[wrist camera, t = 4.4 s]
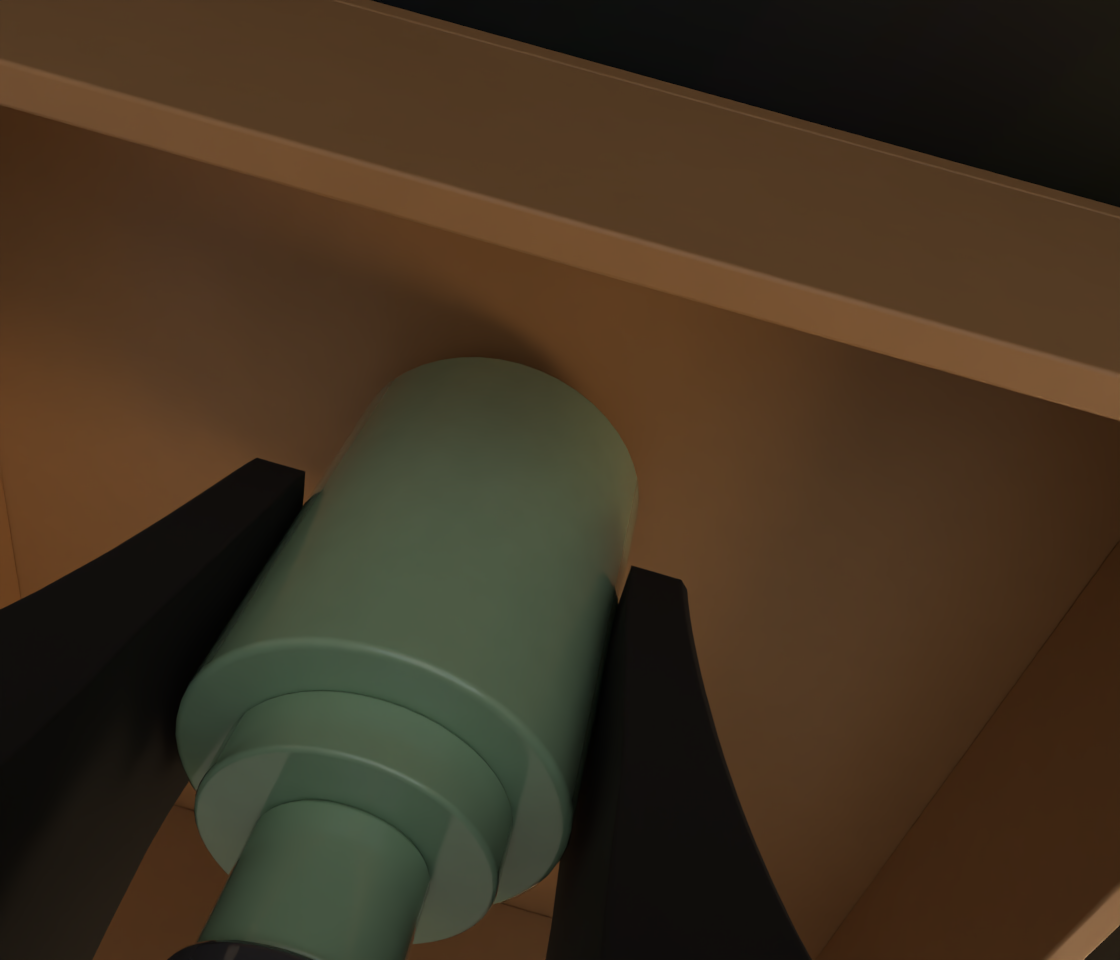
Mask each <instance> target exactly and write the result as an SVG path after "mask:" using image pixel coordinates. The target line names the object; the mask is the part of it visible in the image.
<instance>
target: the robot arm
mask: <svg viewBox="0 0 1120 960" xmlns="http://www.w3.org/2000/svg"><path fill="white" fill-rule="evenodd" d="M305 472H306V471H302V470H299V469H295V468H292V467H288V466H285V465H281V464H278V463H274V462H271V461H267V460H264V459H260V458H255V459H253V460H251V461H250V462H248V463H246V464H245V465H243V466H241V467H240V468H238V469H237V470H235V471H234V472H232V473H231V474H229V475H228V476H226V477H225V478H223V479H222V480H220V481H219V482H217V483H216V484H214V485H213V486H211V487H210V488H208V489H207V490H205V491H204V492H202V493H201V494H199V495H198V496H196V497H195V498H193V499H192V500H190V501H188V502H187V503H185V504H184V505H182V506H181V507H179V508H178V509H176V510H175V511H173V512H172V513H170V514H168V515H167V516H165V517H164V518H162V519H161V520H159V521H157V522H156V523H154V524H152V525H151V526H149V527H148V528H146V529H144V530H143V531H141V532H139V533H138V534H136V535H134V536H133V537H131V538H130V539H128V540H126V541H125V542H123V543H121V544H120V545H118V546H117V547H115V548H113V549H112V550H110V551H108V552H107V553H105V554H103V555H101V556H100V557H98V558H96V559H94V560H92V561H91V562H89V563H87V564H85V565H83V566H82V567H80V568H78V569H76V570H74V571H72V572H71V573H69V574H67V575H65V576H63V577H62V578H60V579H58V580H56V581H54V582H53V583H51V584H49V585H47V586H45V587H43V588H42V589H40V590H38V591H36V592H34V593H32V594H30V595H28V596H26V597H24V598H22V599H20V600H18V601H16V602H14V603H12V604H10V605H8V606H6V607H4V608H2V609H0V960H93V957H94V955H95V953H96V951H97V949H98V947H99V945H100V943H101V941H102V939H103V937H104V935H105V933H106V931H107V929H108V927H109V925H110V923H111V921H112V919H113V917H114V915H115V913H116V911H117V909H118V907H119V905H120V903H121V901H122V899H123V897H124V895H125V893H126V891H127V889H128V887H129V885H130V883H131V881H132V879H133V877H134V875H135V873H136V871H137V869H138V867H139V865H140V863H141V861H142V859H143V857H144V855H145V853H146V852H147V850H148V848H149V846H150V844H151V843H152V841H153V839H154V837H155V836H156V834H157V832H158V830H159V829H160V827H161V825H162V824H163V822H164V820H165V818H166V817H167V815H168V813H169V812H170V810H171V809H172V807H173V805H174V804H175V802H176V801H177V799H178V798H179V796H180V794H181V793H182V791H183V790H184V788H185V787H186V785H187V784H188V782H189V780H188V778H187V776H186V774H185V771H184V769H183V767H182V764H181V761H180V757H179V754H178V751H177V743H176V735H175V732H176V718H177V710H178V707H179V704H180V700H181V697H182V695H183V693H184V691H185V689H186V687H187V686H188V684H189V682H190V680H191V679H192V677H193V676H194V674H195V673H196V671H197V670H198V668H199V667H200V665H201V663H202V662H203V660H204V659H205V657H206V656H207V654H208V653H209V651H210V649H211V648H212V646H213V645H214V643H215V642H216V640H217V639H218V637H219V635H220V634H221V632H222V631H223V629H224V628H225V626H226V625H227V623H228V622H229V620H230V618H231V617H232V615H233V614H234V612H235V611H236V609H237V608H238V606H239V604H240V603H241V601H242V600H243V598H244V597H245V595H246V594H247V592H248V590H249V589H250V587H251V586H252V584H253V583H254V581H255V580H256V578H257V576H258V575H259V573H260V572H261V570H262V569H263V567H264V566H265V564H266V563H267V561H268V559H269V558H270V556H271V555H272V553H273V552H274V550H275V549H276V547H277V545H278V544H279V542H280V541H281V539H282V538H283V536H284V535H285V533H286V531H287V530H288V528H289V527H290V525H291V524H292V522H293V521H294V519H295V517H296V516H297V514H298V513H299V511H300V510H301V508H302V507H303V499H304V486H305ZM545 960H812V959H811V957H810V955H809V953H808V952H807V950H806V948H805V946H804V944H803V942H802V941H801V939H800V937H799V935H798V933H797V931H796V929H795V927H794V925H793V923H792V921H791V919H790V917H789V915H788V913H787V911H786V908H785V906H784V904H783V902H782V900H781V898H780V896H779V894H778V892H777V890H776V887H775V885H774V883H773V881H772V879H771V876H770V874H769V872H768V870H767V867H766V865H765V863H764V860H763V858H762V856H761V853H760V851H759V849H758V847H757V844H756V842H755V839H754V837H753V834H752V832H751V829H750V827H749V824H748V822H747V819H746V816H745V814H744V811H743V809H742V806H741V803H740V801H739V798H738V795H737V792H736V789H735V786H734V783H733V781H732V778H731V775H730V772H729V769H728V766H727V763H726V760H725V757H724V754H723V751H722V747H721V744H720V741H719V738H718V734H717V731H716V727H715V723H714V720H713V716H712V713H711V709H710V706H709V702H708V698H707V695H706V691H705V687H704V683H703V679H702V675H701V670H700V666H699V661H698V656H697V652H696V647H695V642H694V636H693V631H692V625H691V618H690V611H689V603H688V592H687V588H686V587H685V585H684V583H683V582H682V580H681V579H677V578H674V577H670V576H667V575H663V574H660V573H656V572H653V571H649V570H646V569H643V568H639V567H636V566H632V565H631V568H630V571H629V574H628V577H627V580H626V583H625V586H624V589H623V591H622V594H621V597H620V600H619V603H618V608H617V613H616V617H615V622H614V627H613V632H612V637H611V641H610V646H609V651H608V656H607V661H606V666H605V672H604V678H603V684H602V690H601V695H600V700H599V704H598V709H597V714H596V719H595V724H594V729H593V733H592V738H591V743H590V748H589V753H588V758H587V762H586V767H585V772H584V777H583V782H582V787H581V791H580V796H579V801H578V806H577V811H576V816H575V820H574V825H573V830H572V834H571V838H570V842H569V845H568V847H567V849H566V851H565V853H564V855H563V857H562V859H561V860H560V863H559V870H558V878H557V885H556V893H555V901H554V908H553V916H552V923H551V930H550V936H549V942H548V947H547V953H546V959H545Z"/></svg>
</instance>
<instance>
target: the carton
mask: <svg viewBox="0 0 1120 960" xmlns="http://www.w3.org/2000/svg"><path fill="white" fill-rule="evenodd" d="M457 357H488V358H498V359H504V360H508V361H513V362H517V363H521V364H524V365H527V366H530V367H533V368H536V369H539V370H541V371H543V372H545V373H547V374H550V375H552V376H554V377H556V378H558V379H560V380H561V381H563V382H565V383H566V384H568V385H569V386H571V387H573V388H574V389H576V390H577V391H578V392H580V393H581V394H582V395H583V396H585V397H586V398H587V399H588V400H590V401H591V402H592V403H593V404H594V405H595V406H596V407H597V408H598V409H599V410H600V411H601V412H602V413H603V414H604V415H605V416H606V417H607V419H608V420H609V421H610V423H611V424H612V425H613V426H614V428H615V429H616V430H617V432H618V434H619V435H620V437H621V439H622V441H623V442H624V444H625V446H626V447H627V449H628V452H629V454H630V457H631V459H632V462H633V464H634V468H635V472H636V476H637V480H638V488H639V508H638V516H637V521H636V526H635V531H634V535H633V540H632V545H631V550H630V555H629V559H628V564H627V569H626V574H625V579H624V584H623V588H622V591H623V589H624V586H625V583H626V580H627V577H628V574H629V571H630V568H631V565H632V566H636V567H639V568H643V569H646V570H649V571H653V572H656V573H660V574H663V575H667V576H670V577H674V578H677V579H681V580H682V582H683V583H684V585H685V587H686V588H687V592H688V603H689V611H690V618H691V625H692V631H693V636H694V642H695V647H696V652H697V656H698V661H699V666H700V670H701V675H702V679H703V683H704V687H705V691H706V695H707V698H708V702H709V706H710V709H711V713H712V716H713V720H714V723H715V727H716V731H717V734H718V738H719V741H720V744H721V747H722V751H723V754H724V757H725V760H726V763H727V766H728V769H729V772H730V775H731V778H732V781H733V783H734V786H735V789H736V792H737V795H738V798H739V801H740V803H741V806H742V809H743V811H744V814H745V816H746V819H747V822H748V824H749V827H750V829H751V832H752V834H753V837H754V839H755V842H756V844H757V847H758V849H759V851H760V853H761V856H762V858H763V860H764V863H765V865H766V867H767V870H768V872H769V874H770V876H771V879H772V881H773V883H774V885H775V887H776V890H777V892H778V894H779V896H780V898H781V900H782V902H783V904H784V906H785V908H786V911H787V913H788V915H789V917H790V919H791V921H792V923H793V925H794V927H795V929H796V931H797V933H798V935H799V937H800V939H801V941H802V942H803V944H804V946H805V948H806V950H807V952H808V953H809V955H810V957H811V959H812V960H1084V959H1085V958H1086V957H1087V956H1088V955H1089V954H1090V953H1091V952H1092V951H1093V950H1094V949H1095V948H1096V947H1097V946H1098V945H1099V944H1100V943H1102V942H1103V941H1104V940H1105V939H1106V938H1107V937H1108V936H1109V935H1110V934H1111V933H1112V932H1113V931H1114V930H1115V929H1116V928H1117V927H1118V926H1119V925H1120V208H1119V207H1116V206H1112V205H1109V204H1105V203H1101V202H1098V201H1094V200H1091V199H1087V198H1083V197H1080V196H1076V195H1072V194H1069V193H1065V192H1062V191H1058V190H1054V189H1051V188H1047V187H1044V186H1040V185H1036V184H1033V183H1029V182H1025V181H1022V180H1018V179H1015V178H1011V177H1007V176H1004V175H1000V174H997V173H993V172H989V171H986V170H982V169H978V168H975V167H971V166H968V165H964V164H960V163H957V162H953V161H950V160H946V159H942V158H939V157H935V156H932V155H928V154H924V153H921V152H917V151H913V150H910V149H906V148H903V147H899V146H895V145H892V144H888V143H885V142H881V141H877V140H874V139H870V138H866V137H863V136H859V135H856V134H852V133H848V132H845V131H841V130H838V129H834V128H830V127H827V126H823V125H819V124H816V123H812V122H809V121H805V120H801V119H798V118H794V117H791V116H787V115H783V114H780V113H776V112H773V111H769V110H765V109H762V108H758V107H754V106H751V105H747V104H744V103H740V102H736V101H733V100H729V99H726V98H722V97H718V96H715V95H711V94H707V93H704V92H700V91H697V90H693V89H689V88H686V87H682V86H679V85H675V84H671V83H668V82H664V81H661V80H657V79H653V78H650V77H646V76H642V75H639V74H635V73H632V72H628V71H624V70H621V69H617V68H614V67H610V66H606V65H603V64H599V63H595V62H592V61H588V60H585V59H581V58H577V57H574V56H570V55H567V54H563V53H559V52H556V51H552V50H548V49H545V48H541V47H538V46H534V45H530V44H527V43H523V42H520V41H516V40H512V39H509V38H505V37H502V36H498V35H494V34H491V33H487V32H483V31H480V30H476V29H473V28H469V27H465V26H462V25H458V24H455V23H451V22H447V21H444V20H440V19H436V18H433V17H429V16H426V15H422V14H418V13H415V12H411V11H408V10H404V9H400V8H397V7H393V6H389V5H386V4H382V3H379V2H375V1H371V0H0V609H2V608H4V607H6V606H8V605H10V604H12V603H14V602H16V601H18V600H20V599H22V598H24V597H26V596H28V595H30V594H32V593H34V592H36V591H38V590H40V589H42V588H43V587H45V586H47V585H49V584H51V583H53V582H54V581H56V580H58V579H60V578H62V577H63V576H65V575H67V574H69V573H71V572H72V571H74V570H76V569H78V568H80V567H82V566H83V565H85V564H87V563H89V562H91V561H92V560H94V559H96V558H98V557H100V556H101V555H103V554H105V553H107V552H108V551H110V550H112V549H113V548H115V547H117V546H118V545H120V544H121V543H123V542H125V541H126V540H128V539H130V538H131V537H133V536H134V535H136V534H138V533H139V532H141V531H143V530H144V529H146V528H148V527H149V526H151V525H152V524H154V523H156V522H157V521H159V520H161V519H162V518H164V517H165V516H167V515H168V514H170V513H172V512H173V511H175V510H176V509H178V508H179V507H181V506H182V505H184V504H185V503H187V502H188V501H190V500H192V499H193V498H195V497H196V496H198V495H199V494H201V493H202V492H204V491H205V490H207V489H208V488H210V487H211V486H213V485H214V484H216V483H217V482H219V481H220V480H222V479H223V478H225V477H226V476H228V475H229V474H231V473H232V472H234V471H235V470H237V469H238V468H240V467H241V466H243V465H245V464H246V463H248V462H250V461H251V460H253V459H255V458H260V459H264V460H267V461H271V462H274V463H278V464H281V465H285V466H288V467H292V468H295V469H299V470H302V471H306V472H305V486H304V499H303V505H304V504H305V502H306V500H307V499H308V497H309V496H310V494H311V493H312V491H313V490H314V488H315V486H316V485H317V483H318V482H319V480H320V479H321V477H322V476H323V474H324V472H325V471H326V469H327V468H328V466H329V465H330V463H331V462H332V460H333V458H334V457H335V455H336V454H337V452H338V451H339V449H340V448H341V446H342V445H343V443H344V441H345V440H346V438H347V437H348V435H349V434H350V432H351V431H352V429H353V427H354V426H355V424H356V423H357V421H358V420H359V418H360V417H361V415H362V413H363V412H364V410H365V409H366V407H367V406H368V404H369V403H370V402H371V401H372V399H373V398H374V397H375V396H376V395H377V393H378V392H379V391H380V390H382V389H383V388H384V387H385V386H386V385H387V384H388V383H390V382H391V381H392V380H394V379H395V378H397V377H399V376H400V375H402V374H404V373H405V372H407V371H410V370H412V369H414V368H416V367H419V366H421V365H424V364H428V363H431V362H435V361H439V360H442V359H450V358H457ZM621 594H622V593H621ZM195 794H196V792H195V790H194V789H193V787H192V786H191V784H190V782H188V784H187V785H186V787H185V788H184V790H183V791H182V793H181V794H180V796H179V798H178V799H177V801H176V802H175V804H174V805H173V807H172V809H171V810H170V812H169V813H168V815H167V817H166V818H165V820H164V822H163V824H162V825H161V827H160V829H159V830H158V832H157V834H156V836H155V837H154V839H153V841H152V843H151V844H150V846H149V848H148V850H147V852H146V853H145V855H144V857H143V859H142V861H141V863H140V865H139V867H138V869H137V871H136V873H135V875H134V877H133V879H132V881H131V883H130V885H129V887H128V889H127V891H126V893H125V895H124V897H123V899H122V901H121V903H120V905H119V907H118V909H117V911H116V913H115V915H114V917H113V919H112V921H111V923H110V925H109V927H108V929H107V931H106V933H105V935H104V937H103V939H102V941H101V943H100V945H99V947H98V949H97V951H96V953H95V955H94V957H93V960H167V959H168V958H169V957H171V956H172V955H173V954H174V953H175V952H177V951H178V950H179V949H181V948H183V947H185V946H187V945H190V944H194V943H195V941H196V939H197V937H198V935H199V933H200V931H201V929H202V927H203V925H204V923H205V921H206V919H207V917H208V915H209V913H210V911H211V909H212V907H213V905H214V903H215V901H216V899H217V897H218V895H219V893H220V891H221V889H222V887H223V885H224V883H225V881H226V879H227V877H228V875H227V874H226V873H225V872H224V871H223V869H222V868H221V867H220V866H219V865H218V864H217V862H216V861H215V860H214V859H213V857H212V856H211V854H210V853H209V851H208V850H207V849H206V847H205V845H204V843H203V841H202V839H201V837H200V835H199V832H198V829H197V826H196V822H195V814H194V804H195ZM559 863H560V861H559V862H558V864H557V865H556V866H555V867H554V869H553V870H552V871H551V872H550V874H549V875H548V876H547V877H546V878H544V879H543V880H542V881H541V882H540V883H539V884H537V885H536V886H535V887H533V888H532V889H530V890H528V891H526V892H525V893H523V894H521V895H520V896H517V897H515V898H512V899H510V900H507V901H505V902H502V903H499V904H495V905H492V907H491V908H490V910H489V911H488V912H487V913H486V915H485V916H484V917H483V918H482V919H481V920H480V921H479V922H478V923H477V924H476V925H474V926H473V927H472V928H470V929H468V930H467V931H465V932H463V933H461V934H459V935H456V936H454V937H451V938H448V939H444V940H441V941H437V942H431V943H424V944H412V947H411V950H410V953H409V956H408V959H407V960H545V959H546V953H547V947H548V942H549V936H550V930H551V923H552V916H553V908H554V901H555V893H556V885H557V878H558V870H559Z"/></svg>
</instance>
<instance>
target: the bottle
mask: <svg viewBox="0 0 1120 960" xmlns="http://www.w3.org/2000/svg"><path fill="white" fill-rule="evenodd" d="M638 508H639V488H638V480H637V476H636V472H635V468H634V464H633V462H632V459H631V457H630V454H629V452H628V449H627V447H626V446H625V444H624V442H623V441H622V439H621V437H620V435H619V434H618V432H617V430H616V429H615V428H614V426H613V425H612V424H611V423H610V421H609V420H608V419H607V417H606V416H605V415H604V414H603V413H602V412H601V411H600V410H599V409H598V408H597V407H596V406H595V405H594V404H593V403H592V402H591V401H590V400H588V399H587V398H586V397H585V396H583V395H582V394H581V393H580V392H578V391H577V390H576V389H574V388H573V387H571V386H569V385H568V384H566V383H565V382H563V381H561V380H560V379H558V378H556V377H554V376H552V375H550V374H547V373H545V372H543V371H541V370H539V369H536V368H533V367H530V366H527V365H524V364H521V363H517V362H513V361H508V360H504V359H498V358H488V357H457V358H450V359H442V360H439V361H435V362H431V363H428V364H424V365H421V366H419V367H416V368H414V369H412V370H410V371H407V372H405V373H404V374H402V375H400V376H399V377H397V378H395V379H394V380H392V381H391V382H390V383H388V384H387V385H386V386H385V387H384V388H383V389H382V390H380V391H379V392H378V393H377V395H376V396H375V397H374V398H373V399H372V401H371V402H370V403H369V404H368V406H367V407H366V409H365V410H364V412H363V413H362V415H361V417H360V418H359V420H358V421H357V423H356V424H355V426H354V427H353V429H352V431H351V432H350V434H349V435H348V437H347V438H346V440H345V441H344V443H343V445H342V446H341V448H340V449H339V451H338V452H337V454H336V455H335V457H334V458H333V460H332V462H331V463H330V465H329V466H328V468H327V469H326V471H325V472H324V474H323V476H322V477H321V479H320V480H319V482H318V483H317V485H316V486H315V488H314V490H313V491H312V493H311V494H310V496H309V497H308V499H307V500H306V502H305V504H304V505H303V507H302V508H301V510H300V511H299V513H298V514H297V516H296V517H295V519H294V521H293V522H292V524H291V525H290V527H289V528H288V530H287V531H286V533H285V535H284V536H283V538H282V539H281V541H280V542H279V544H278V545H277V547H276V549H275V550H274V552H273V553H272V555H271V556H270V558H269V559H268V561H267V563H266V564H265V566H264V567H263V569H262V570H261V572H260V573H259V575H258V576H257V578H256V580H255V581H254V583H253V584H252V586H251V587H250V589H249V590H248V592H247V594H246V595H245V597H244V598H243V600H242V601H241V603H240V604H239V606H238V608H237V609H236V611H235V612H234V614H233V615H232V617H231V618H230V620H229V622H228V623H227V625H226V626H225V628H224V629H223V631H222V632H221V634H220V635H219V637H218V639H217V640H216V642H215V643H214V645H213V646H212V648H211V649H210V651H209V653H208V654H207V656H206V657H205V659H204V660H203V662H202V663H201V665H200V667H199V668H198V670H197V671H196V673H195V674H194V676H193V677H192V679H191V680H190V682H189V684H188V686H187V687H186V689H185V691H184V693H183V695H182V697H181V700H180V704H179V707H178V710H177V718H176V732H175V735H176V743H177V751H178V754H179V757H180V761H181V764H182V767H183V769H184V771H185V774H186V776H187V778H188V780H189V782H190V784H191V786H192V787H193V789H194V790H195V792H196V794H195V804H194V814H195V822H196V826H197V829H198V832H199V835H200V837H201V839H202V841H203V843H204V845H205V847H206V849H207V850H208V851H209V853H210V854H211V856H212V857H213V859H214V860H215V861H216V862H217V864H218V865H219V866H220V867H221V868H222V869H223V871H224V872H225V873H226V874H227V875H228V877H227V879H226V881H225V883H224V885H223V887H222V889H221V891H220V893H219V895H218V897H217V899H216V901H215V903H214V905H213V907H212V909H211V911H210V913H209V915H208V917H207V919H206V921H205V923H204V925H203V927H202V929H201V931H200V933H199V935H198V937H197V939H196V941H195V943H194V944H190V945H187V946H185V947H183V948H181V949H179V950H178V951H177V952H175V953H174V954H173V955H172V956H171V957H169V958H168V959H167V960H407V959H408V956H409V953H410V950H411V947H412V944H424V943H431V942H437V941H441V940H444V939H448V938H451V937H454V936H456V935H459V934H461V933H463V932H465V931H467V930H468V929H470V928H472V927H473V926H474V925H476V924H477V923H478V922H479V921H480V920H481V919H482V918H483V917H484V916H485V915H486V913H487V912H488V911H489V910H490V908H491V907H492V905H495V904H499V903H502V902H505V901H507V900H510V899H512V898H515V897H517V896H520V895H521V894H523V893H525V892H526V891H528V890H530V889H532V888H533V887H535V886H536V885H537V884H539V883H540V882H541V881H542V880H543V879H544V878H546V877H547V876H548V875H549V874H550V872H551V871H552V870H553V869H554V867H555V866H556V865H557V864H558V862H559V861H560V860H561V859H562V857H563V855H564V853H565V851H566V849H567V847H568V845H569V842H570V838H571V834H572V830H573V825H574V820H575V816H576V811H577V806H578V801H579V796H580V791H581V787H582V782H583V777H584V772H585V767H586V762H587V758H588V753H589V748H590V743H591V738H592V733H593V729H594V724H595V719H596V714H597V709H598V704H599V700H600V695H601V690H602V684H603V678H604V672H605V666H606V661H607V656H608V651H609V646H610V641H611V637H612V632H613V627H614V622H615V617H616V613H617V608H618V603H619V600H620V597H621V593H622V588H623V584H624V579H625V574H626V569H627V564H628V559H629V555H630V550H631V545H632V540H633V535H634V531H635V526H636V521H637V516H638Z"/></svg>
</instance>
